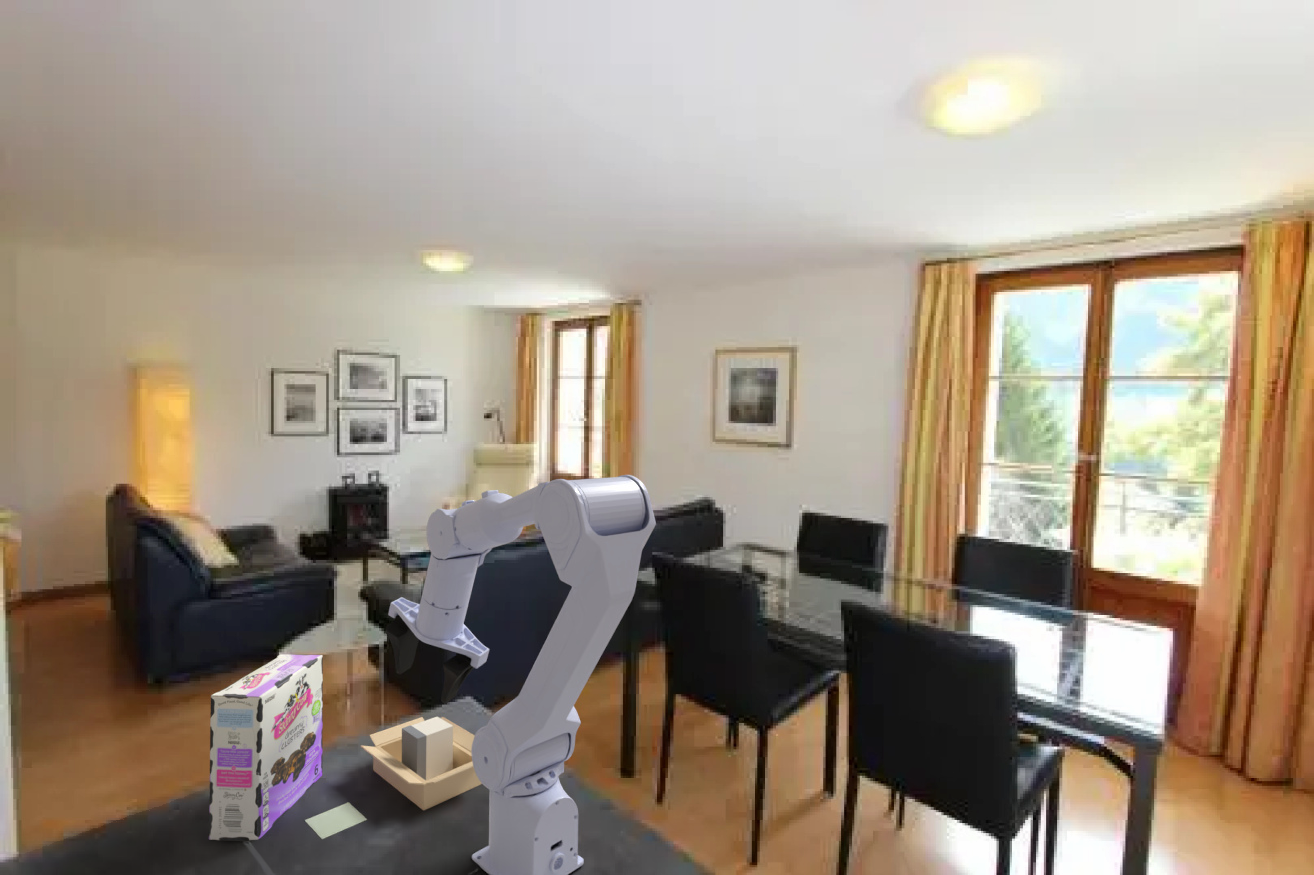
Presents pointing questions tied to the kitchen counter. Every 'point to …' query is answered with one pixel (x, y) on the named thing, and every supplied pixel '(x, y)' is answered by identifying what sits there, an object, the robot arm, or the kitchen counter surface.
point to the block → (428, 747)
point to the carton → (413, 785)
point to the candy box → (264, 745)
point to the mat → (335, 820)
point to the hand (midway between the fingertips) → (425, 684)
